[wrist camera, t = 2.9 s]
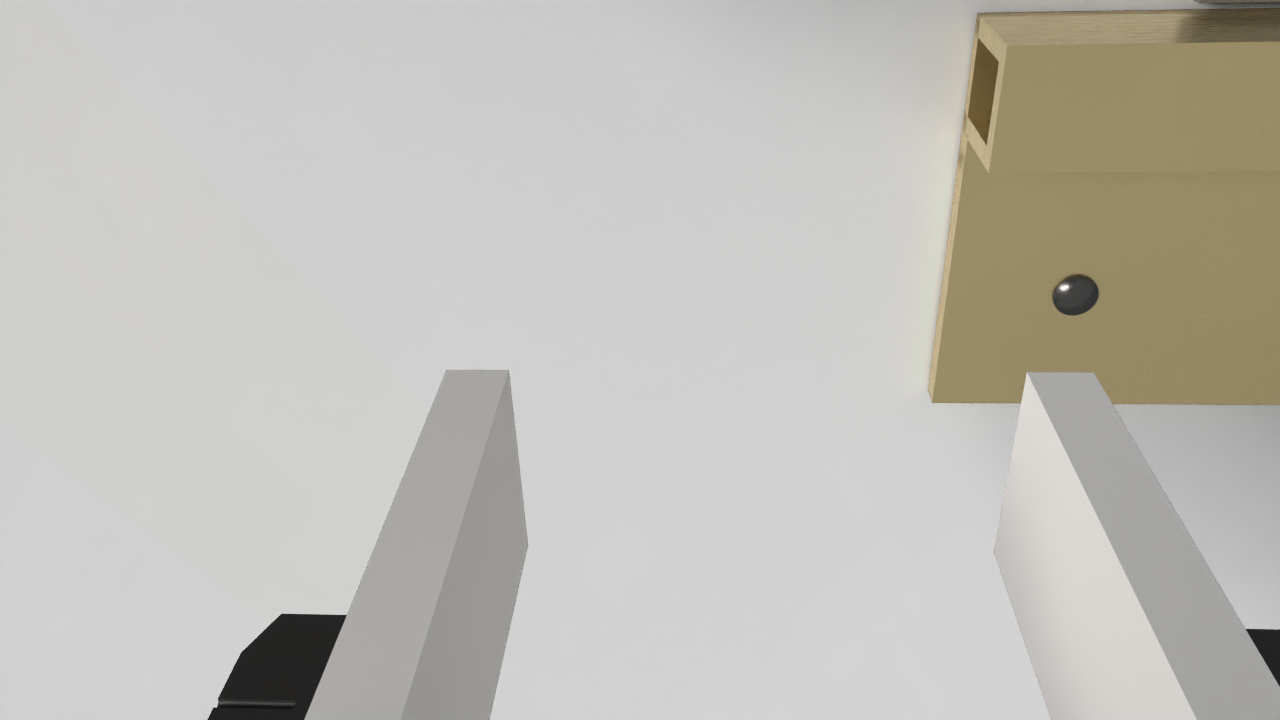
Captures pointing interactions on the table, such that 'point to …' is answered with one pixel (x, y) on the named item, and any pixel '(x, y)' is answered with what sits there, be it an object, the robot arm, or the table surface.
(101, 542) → the table surface
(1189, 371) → the brass leaf
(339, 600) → the table surface
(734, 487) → the table surface
